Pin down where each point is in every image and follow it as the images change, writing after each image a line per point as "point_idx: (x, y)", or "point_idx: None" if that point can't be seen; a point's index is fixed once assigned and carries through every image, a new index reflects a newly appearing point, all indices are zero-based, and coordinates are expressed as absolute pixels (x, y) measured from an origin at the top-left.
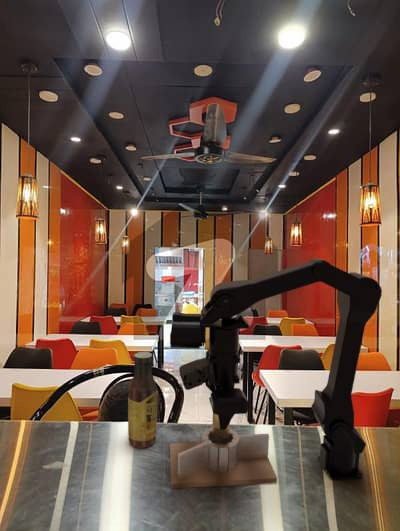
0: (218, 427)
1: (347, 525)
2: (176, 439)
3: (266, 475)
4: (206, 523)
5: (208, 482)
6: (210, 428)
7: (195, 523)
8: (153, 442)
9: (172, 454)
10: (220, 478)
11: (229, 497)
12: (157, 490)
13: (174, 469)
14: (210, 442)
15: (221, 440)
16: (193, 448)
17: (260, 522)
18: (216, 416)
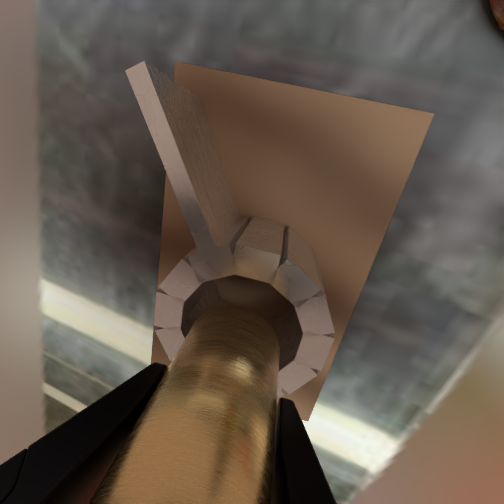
0: (174, 359)
1: (46, 406)
2: (468, 163)
3: (161, 360)
4: (46, 150)
5: (165, 204)
6: (322, 316)
7: (46, 118)
8: (500, 24)
9: (346, 107)
10: (170, 246)
11: (125, 244)
12: (185, 6)
13: (249, 94)
14: (207, 272)
15: (294, 323)
16: (174, 170)
17: (50, 277)
18: (144, 420)
